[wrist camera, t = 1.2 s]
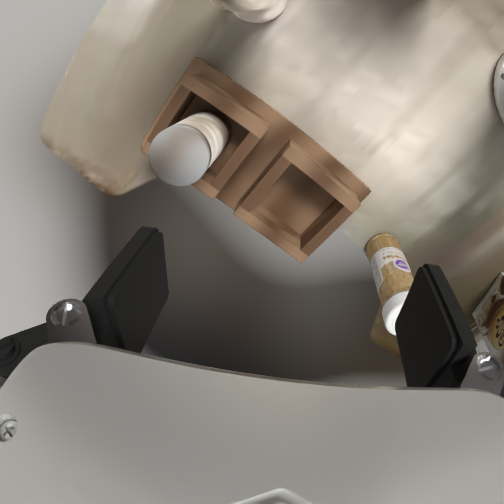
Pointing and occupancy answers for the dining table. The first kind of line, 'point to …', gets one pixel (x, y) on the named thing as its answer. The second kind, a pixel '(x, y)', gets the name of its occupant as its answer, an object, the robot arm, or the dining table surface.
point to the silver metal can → (253, 9)
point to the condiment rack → (251, 161)
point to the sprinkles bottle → (389, 275)
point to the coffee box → (492, 318)
